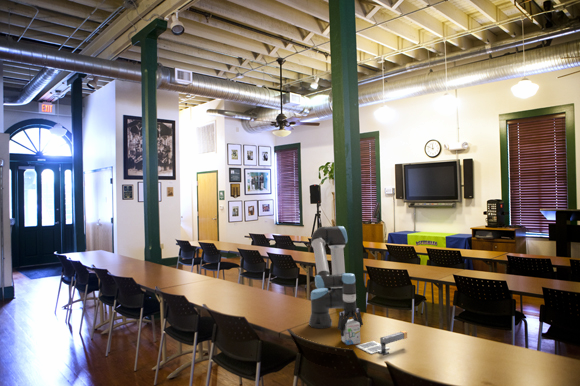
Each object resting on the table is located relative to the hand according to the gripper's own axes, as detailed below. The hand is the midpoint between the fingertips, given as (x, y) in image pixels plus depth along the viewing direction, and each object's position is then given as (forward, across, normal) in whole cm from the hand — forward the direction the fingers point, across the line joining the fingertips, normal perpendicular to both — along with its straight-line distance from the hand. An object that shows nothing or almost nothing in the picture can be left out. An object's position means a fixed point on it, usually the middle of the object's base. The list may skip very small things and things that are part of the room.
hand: (350, 339), depth 224 cm
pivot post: (+1, +4, -23) cm, 23 cm away
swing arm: (-4, +12, -23) cm, 26 cm away
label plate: (+1, +4, -14) cm, 15 cm away
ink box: (+1, 0, 0) cm, 1 cm away
